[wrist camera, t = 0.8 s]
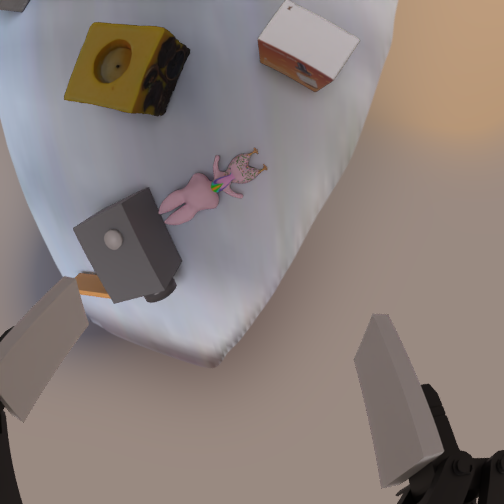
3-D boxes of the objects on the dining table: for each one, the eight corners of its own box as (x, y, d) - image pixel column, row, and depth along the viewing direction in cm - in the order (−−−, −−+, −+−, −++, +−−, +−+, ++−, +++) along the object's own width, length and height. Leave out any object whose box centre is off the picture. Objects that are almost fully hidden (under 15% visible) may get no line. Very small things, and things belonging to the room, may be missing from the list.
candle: (104, 102, 31) (60, 101, 22) (128, 38, 27) (89, 20, 18) (165, 117, 32) (129, 118, 23) (192, 49, 28) (166, 26, 19)
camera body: (101, 209, 38) (68, 231, 30) (148, 187, 36) (117, 205, 29) (141, 286, 44) (118, 319, 36) (188, 273, 42) (170, 308, 34)
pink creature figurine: (248, 137, 34) (152, 196, 36) (252, 135, 29) (139, 205, 30) (271, 178, 36) (176, 233, 38) (279, 183, 31) (168, 248, 33)
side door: (131, 277, 42) (116, 295, 37) (133, 287, 43) (119, 306, 38) (79, 272, 43) (63, 288, 38) (82, 281, 43) (66, 298, 39)
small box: (259, 62, 29) (254, 38, 19) (281, 30, 26) (284, -4, 17) (316, 94, 30) (334, 81, 20) (337, 61, 28) (362, 39, 18)
